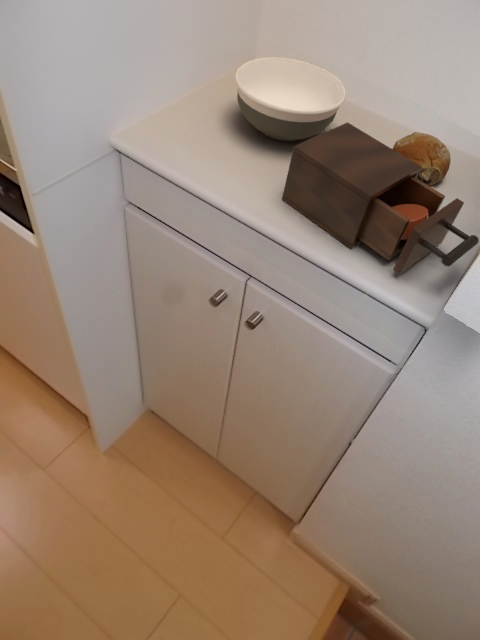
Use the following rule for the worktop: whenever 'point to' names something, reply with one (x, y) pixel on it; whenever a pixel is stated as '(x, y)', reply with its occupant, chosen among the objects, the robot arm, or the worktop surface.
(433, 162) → the bread roll
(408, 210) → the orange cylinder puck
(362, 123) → the worktop surface
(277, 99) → the bowl
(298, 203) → the cabinet
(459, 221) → the worktop surface
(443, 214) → the drawer
